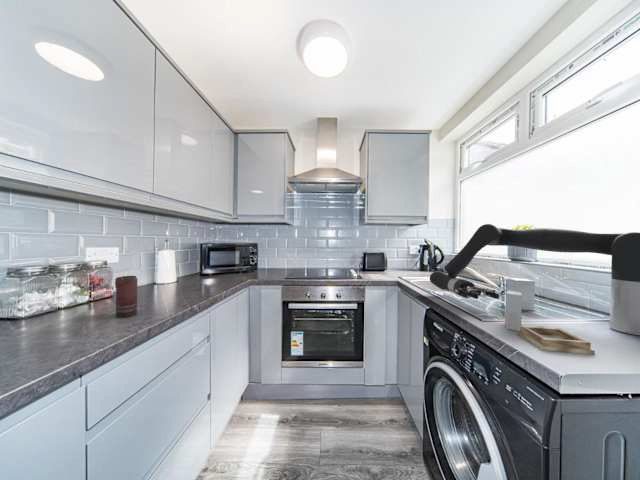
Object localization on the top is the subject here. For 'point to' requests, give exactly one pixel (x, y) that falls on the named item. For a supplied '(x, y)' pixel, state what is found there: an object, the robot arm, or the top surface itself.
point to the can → (126, 296)
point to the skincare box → (513, 310)
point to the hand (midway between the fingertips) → (488, 296)
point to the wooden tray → (555, 340)
